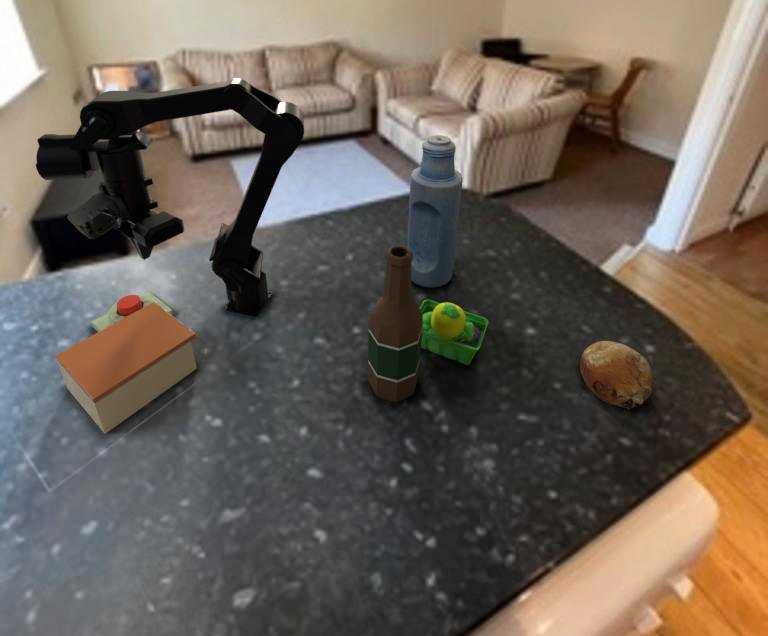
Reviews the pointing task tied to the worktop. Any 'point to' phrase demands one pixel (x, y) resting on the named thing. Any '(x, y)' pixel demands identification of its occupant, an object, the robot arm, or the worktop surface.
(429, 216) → the bottle
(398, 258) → the beer bottle
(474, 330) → the fruit basket
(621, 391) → the brown oval lump
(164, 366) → the wooden box
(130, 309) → the button
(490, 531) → the worktop surface
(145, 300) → the button housing
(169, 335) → the box lid
